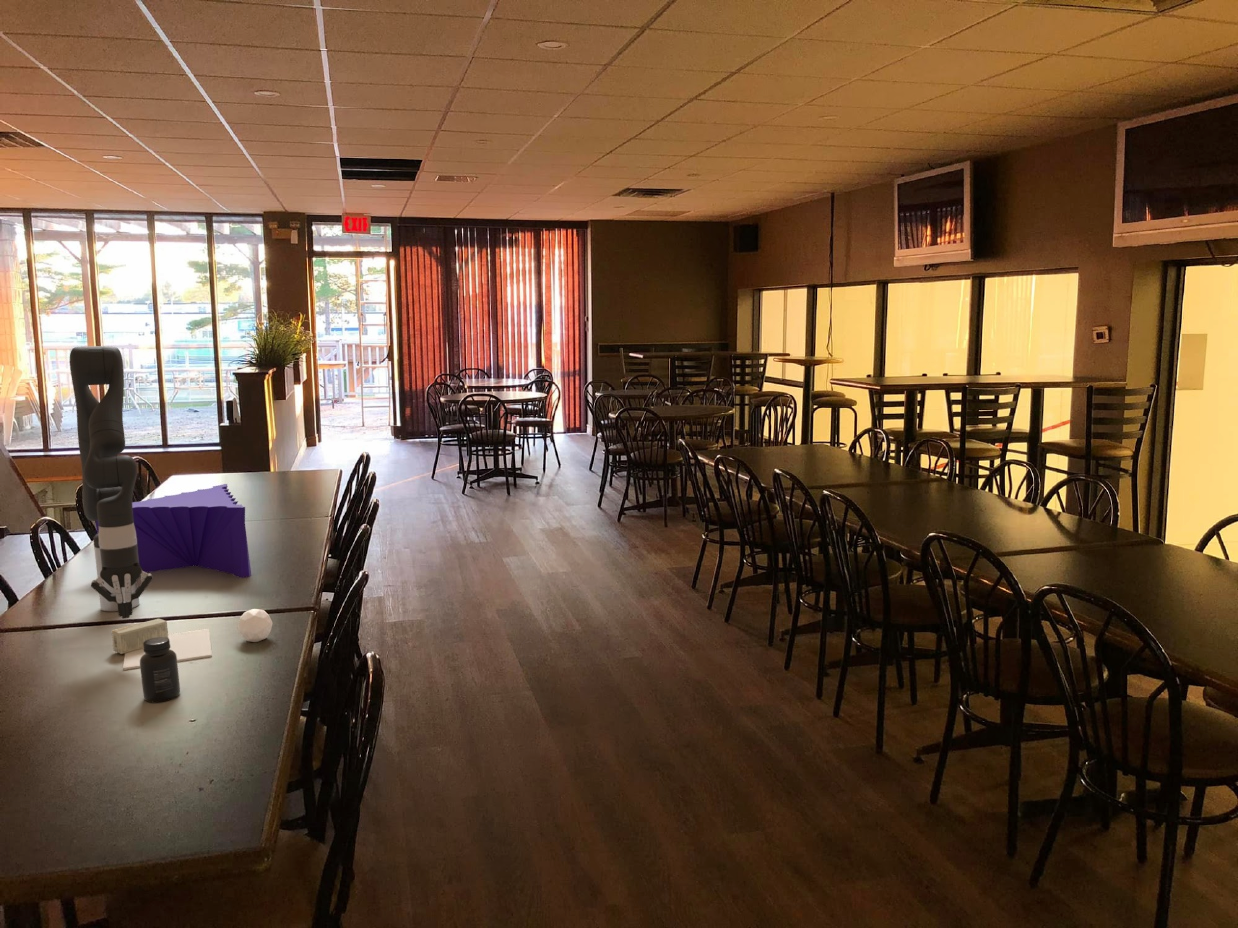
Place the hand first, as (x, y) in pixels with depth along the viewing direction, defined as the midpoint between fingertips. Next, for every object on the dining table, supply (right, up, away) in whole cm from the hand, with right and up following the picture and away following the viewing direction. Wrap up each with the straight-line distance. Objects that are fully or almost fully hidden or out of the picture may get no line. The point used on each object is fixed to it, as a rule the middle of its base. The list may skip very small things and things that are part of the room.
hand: (126, 617), depth 214 cm
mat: (+7, -8, +5) cm, 12 cm away
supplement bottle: (+19, -13, -22) cm, 32 cm away
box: (-3, -6, +1) cm, 7 cm away
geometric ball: (+26, -7, +10) cm, 29 cm away
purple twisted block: (-19, +4, +84) cm, 86 cm away
